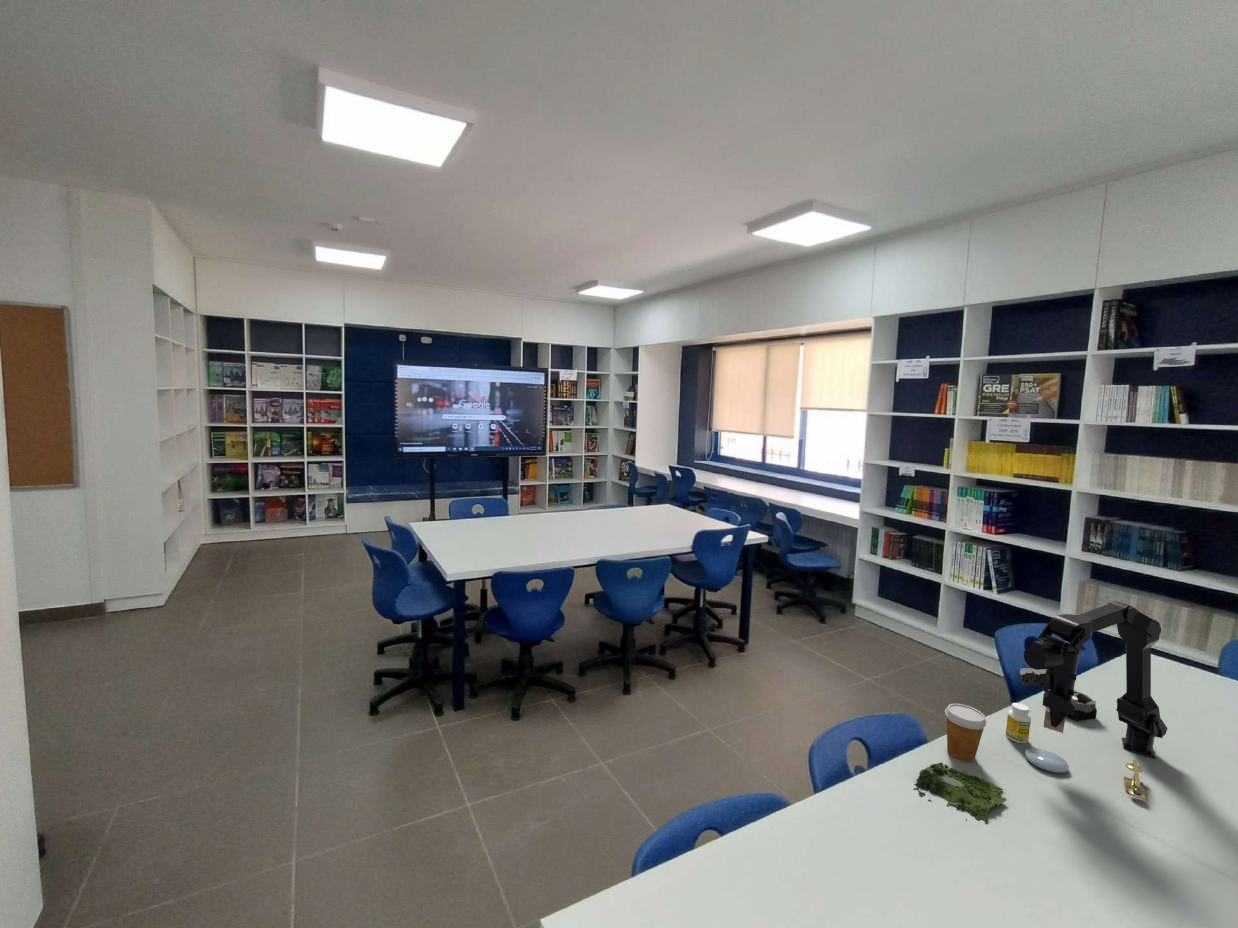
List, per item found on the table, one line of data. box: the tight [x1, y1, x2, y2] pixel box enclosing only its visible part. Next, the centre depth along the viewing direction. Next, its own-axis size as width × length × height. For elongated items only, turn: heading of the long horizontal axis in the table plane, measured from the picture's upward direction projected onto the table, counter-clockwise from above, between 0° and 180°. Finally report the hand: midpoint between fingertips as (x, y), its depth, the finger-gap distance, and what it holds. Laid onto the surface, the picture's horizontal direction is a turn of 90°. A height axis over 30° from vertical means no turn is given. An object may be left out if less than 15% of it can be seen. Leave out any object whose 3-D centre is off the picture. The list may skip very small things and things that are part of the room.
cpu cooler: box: [1066, 689, 1098, 722], centre depth 175 cm, size 10×6×10 cm
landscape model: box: [913, 762, 1007, 824], centre depth 135 cm, size 17×21×5 cm
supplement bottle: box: [1005, 702, 1032, 744], centre depth 159 cm, size 5×5×10 cm
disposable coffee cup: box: [944, 703, 987, 763], centre depth 150 cm, size 10×10×12 cm
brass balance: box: [1123, 759, 1147, 800], centre depth 140 cm, size 13×4×5 cm, turn 142°
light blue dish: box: [1024, 747, 1069, 774], centre depth 148 cm, size 9×9×2 cm
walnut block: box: [1043, 707, 1067, 734], centre depth 147 cm, size 4×4×4 cm
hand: (1053, 723), depth 147 cm, fingers closed on walnut block, 4 cm apart
